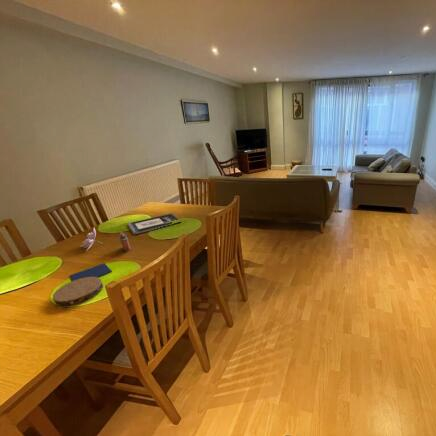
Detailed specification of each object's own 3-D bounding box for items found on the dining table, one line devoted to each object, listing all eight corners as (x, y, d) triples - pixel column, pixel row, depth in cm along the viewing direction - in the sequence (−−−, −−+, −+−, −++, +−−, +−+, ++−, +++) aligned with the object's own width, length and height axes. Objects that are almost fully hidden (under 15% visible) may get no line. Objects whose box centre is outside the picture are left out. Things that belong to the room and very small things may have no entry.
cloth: (75, 286, 108) (75, 285, 107) (69, 276, 115) (69, 275, 114) (112, 271, 118) (111, 271, 117) (104, 263, 125) (104, 262, 124)
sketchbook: (181, 223, 174) (181, 220, 173) (134, 235, 155) (133, 232, 154) (171, 214, 188) (171, 212, 188) (127, 225, 170) (126, 222, 169)
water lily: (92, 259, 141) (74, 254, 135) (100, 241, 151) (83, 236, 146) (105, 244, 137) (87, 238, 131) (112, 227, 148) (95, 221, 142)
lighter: (121, 247, 140) (116, 232, 136) (128, 245, 142) (123, 230, 138) (125, 252, 135) (120, 236, 131) (132, 250, 137) (127, 234, 133)
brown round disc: (112, 282, 110) (110, 277, 109) (81, 307, 95) (79, 301, 94) (79, 281, 111) (77, 276, 110) (44, 306, 96) (41, 300, 95)
